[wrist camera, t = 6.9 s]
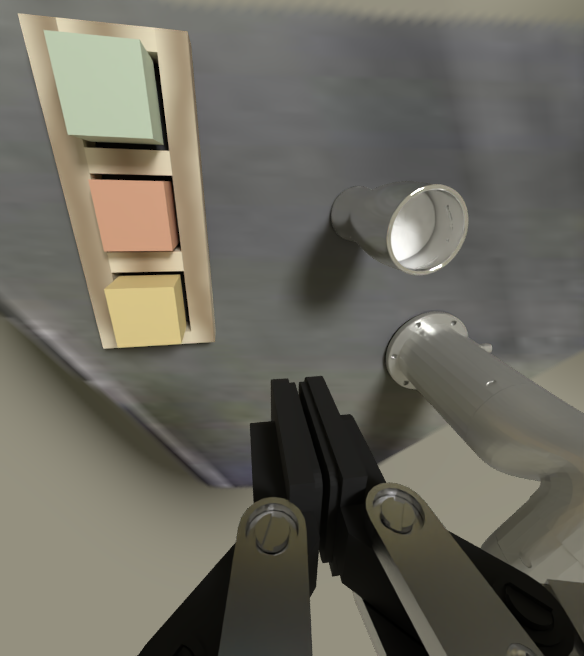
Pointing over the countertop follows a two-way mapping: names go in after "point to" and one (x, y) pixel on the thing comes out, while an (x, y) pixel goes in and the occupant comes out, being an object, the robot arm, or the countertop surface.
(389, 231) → the beer glass
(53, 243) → the countertop surface
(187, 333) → the button board
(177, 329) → the ochre button
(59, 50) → the sage button
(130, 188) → the terracotta button
